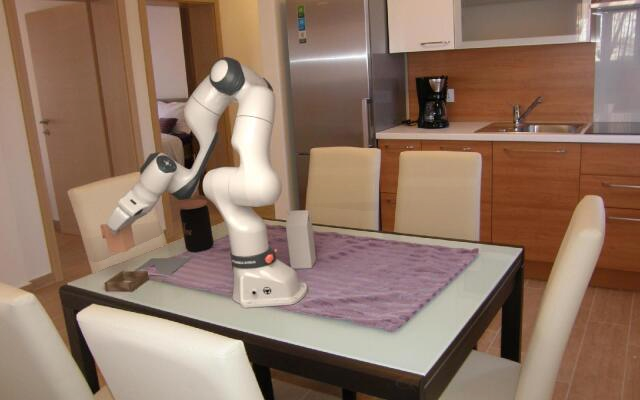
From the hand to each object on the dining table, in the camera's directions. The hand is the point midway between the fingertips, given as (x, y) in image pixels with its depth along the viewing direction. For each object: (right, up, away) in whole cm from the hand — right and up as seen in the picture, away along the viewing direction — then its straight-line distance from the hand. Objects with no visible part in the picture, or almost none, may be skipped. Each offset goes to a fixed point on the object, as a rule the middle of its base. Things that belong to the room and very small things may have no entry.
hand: (120, 229), depth 188 cm
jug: (-2, -7, +2) cm, 7 cm away
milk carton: (+59, -12, +6) cm, 61 cm away
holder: (+1, -19, +5) cm, 19 cm away
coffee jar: (+19, -9, +36) cm, 41 cm away
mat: (+8, -14, +19) cm, 25 cm away
